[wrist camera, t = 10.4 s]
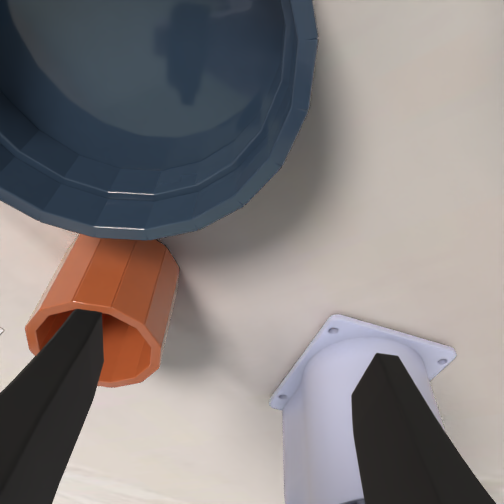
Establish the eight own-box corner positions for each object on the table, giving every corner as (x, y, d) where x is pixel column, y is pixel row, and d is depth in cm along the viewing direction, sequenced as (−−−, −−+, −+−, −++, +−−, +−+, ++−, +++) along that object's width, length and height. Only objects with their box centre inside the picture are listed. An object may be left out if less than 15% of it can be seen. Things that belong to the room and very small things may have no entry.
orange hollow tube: (174, 314, 25) (157, 394, 21) (72, 299, 24) (34, 378, 21) (183, 236, 21) (164, 315, 18) (63, 216, 21) (16, 293, 17)
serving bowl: (236, 215, 20) (230, 278, 17) (-53, 121, 18) (-123, 174, 15) (376, -108, 13) (411, -103, 10) (-85, -345, 10) (-243, -444, 7)
